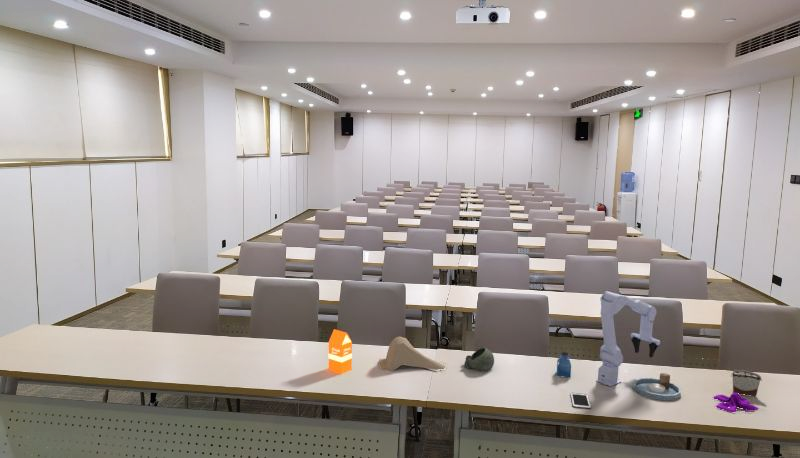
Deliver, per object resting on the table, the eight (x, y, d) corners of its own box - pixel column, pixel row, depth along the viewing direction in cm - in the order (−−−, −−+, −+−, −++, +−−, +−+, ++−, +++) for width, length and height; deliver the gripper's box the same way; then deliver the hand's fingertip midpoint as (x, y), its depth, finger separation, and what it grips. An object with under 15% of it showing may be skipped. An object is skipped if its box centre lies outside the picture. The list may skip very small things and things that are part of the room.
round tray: (665, 403, 254) (666, 399, 254) (625, 388, 270) (625, 383, 270) (688, 393, 266) (689, 388, 266) (648, 379, 282) (648, 374, 282)
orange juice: (338, 365, 290) (339, 327, 288) (351, 369, 285) (352, 330, 283) (328, 370, 284) (328, 331, 281) (341, 374, 279) (341, 334, 276)
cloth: (718, 413, 247) (719, 399, 246) (703, 395, 265) (705, 382, 265) (775, 418, 243) (776, 405, 243) (756, 400, 261) (757, 387, 261)
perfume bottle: (570, 377, 282) (572, 354, 280) (557, 376, 283) (558, 353, 281) (569, 373, 288) (570, 350, 286) (556, 371, 289) (558, 349, 287)
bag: (375, 377, 287) (445, 379, 281) (373, 345, 283) (444, 346, 277) (382, 359, 305) (448, 361, 300) (380, 329, 301) (447, 330, 296)
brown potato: (666, 389, 269) (667, 377, 268) (657, 386, 272) (658, 374, 271) (670, 387, 271) (671, 375, 271) (661, 384, 275) (662, 372, 274)
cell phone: (572, 408, 249) (572, 406, 248) (570, 394, 263) (570, 392, 263) (591, 410, 247) (591, 408, 247) (587, 396, 261) (587, 394, 261)
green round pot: (464, 361, 301) (465, 343, 299) (493, 363, 299) (494, 344, 297) (464, 372, 286) (464, 352, 284) (494, 374, 284) (495, 354, 283)
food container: (756, 392, 269) (758, 371, 268) (759, 397, 264) (762, 376, 262) (726, 388, 273) (728, 368, 272) (729, 393, 267) (731, 372, 266)
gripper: (664, 331, 281) (662, 357, 283) (637, 323, 293) (635, 348, 294) (656, 333, 277) (654, 360, 279) (629, 325, 288) (627, 351, 290)
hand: (643, 354), depth 286 cm, fingers open, 7 cm apart
